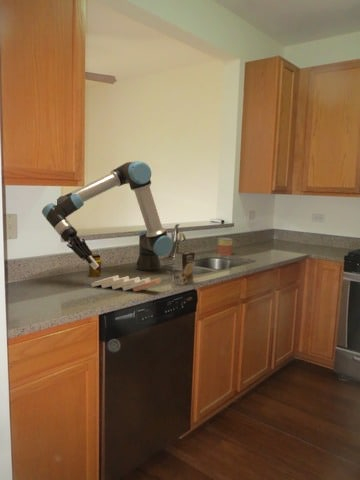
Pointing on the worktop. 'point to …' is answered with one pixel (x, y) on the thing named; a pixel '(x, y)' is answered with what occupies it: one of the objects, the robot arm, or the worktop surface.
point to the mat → (113, 289)
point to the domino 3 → (126, 283)
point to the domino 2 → (115, 282)
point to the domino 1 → (105, 281)
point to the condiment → (98, 270)
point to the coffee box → (183, 268)
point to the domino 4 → (136, 284)
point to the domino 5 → (147, 285)
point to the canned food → (224, 246)
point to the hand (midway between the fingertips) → (96, 267)
